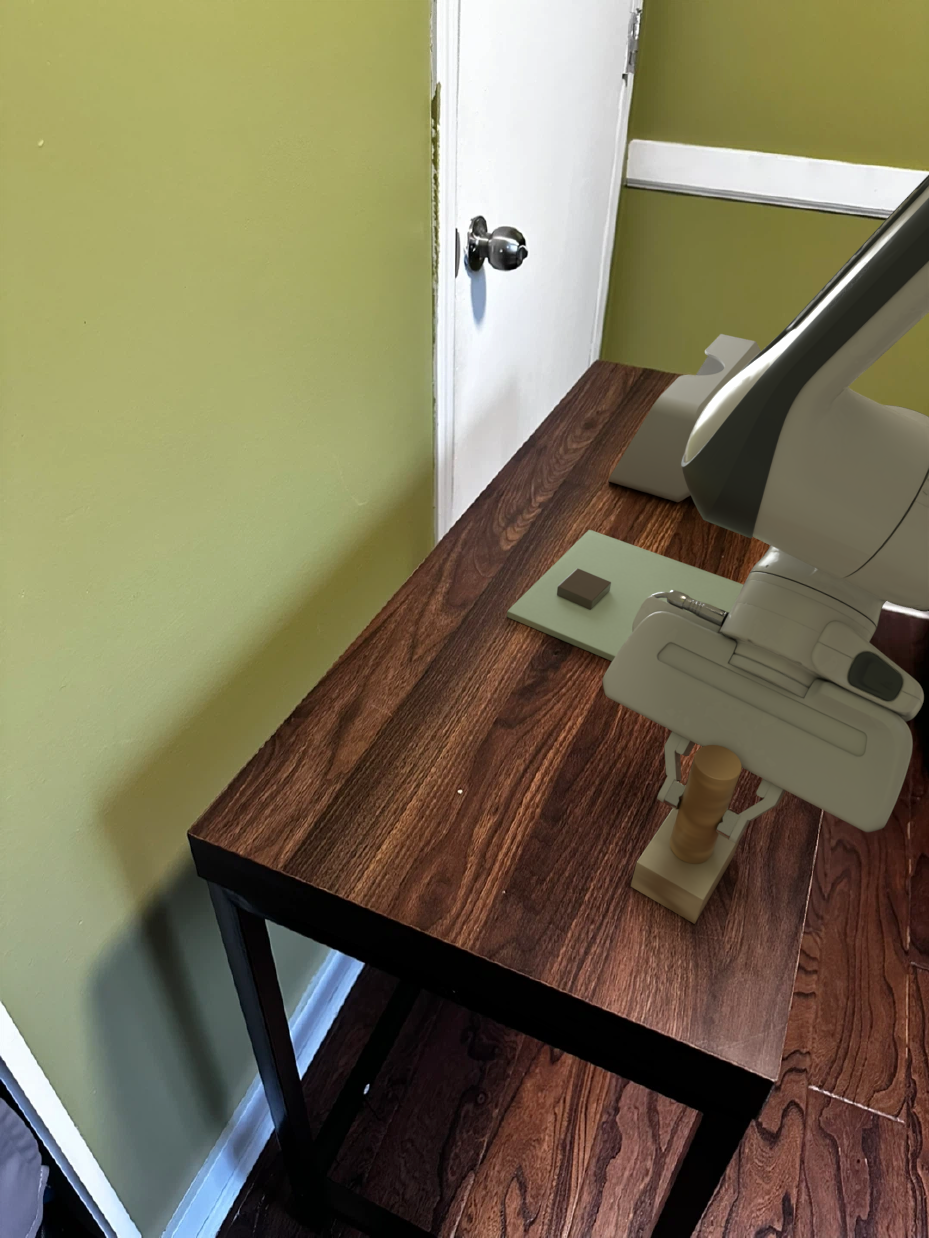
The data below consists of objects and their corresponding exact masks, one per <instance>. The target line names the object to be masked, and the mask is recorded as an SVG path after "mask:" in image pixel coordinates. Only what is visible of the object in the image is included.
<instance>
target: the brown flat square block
mask: <svg viewBox="0 0 929 1238" xmlns="http://www.w3.org/2000/svg"><path fill="white" fill-rule="evenodd" d="M610 586H611V582H610V581H607V580H605V579H602V578H600V577H598V576H595V575H593V574H590V573H588V572H586V571H583V570H581V569H579V568H577V569H576V570H575V571H574V572H573V573H572V574H571V575H569V576H568V577H567V578H566V579H565V580H564V581H563V582H562V583H561V584H560V585H558V588H557V596H560V597H562V598H564V599H566V600H569V601H571V602H573V603H576V604H578V605H580V606H582V607H585V608H587V609H589V610H591V609H592V608H593V607H594V606H595V605H596V604H597V603H598V602H599V601H600V600H601V599H602V598H603V597H604V596H605V595H606V594H607V593H608V592H609V591H610Z"/></svg>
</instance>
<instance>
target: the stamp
mask: <svg viewBox="0 0 929 1238" xmlns="http://www.w3.org/2000/svg"><path fill="white" fill-rule="evenodd" d="M742 769H743V768H742V765H741V762H740V759H739V758H738V757H737V755H736V754H735V753H734V752H732V751H731V750H729V749H727V748H725V747H722V746H719V745H706V746H703V747H702V746H700V748H698V749H696V751H695V753H694V756H693V758H692V763H691V767H690V770H689V773H688V777H687V780H686V783H685V784H686V786H685V790H684V793H683V796H682V800H681V803H680V807H679V810H678V809H677V810H676V809H674V808H672V809H671V810H670V811H669V813H668V815H667V816H666V818H664V821H662V824H661V825H660V826H659V828H658V830H657V831H656V832H655V834H654V836H653V837H652V838H651V840H650V841H649V843H648V844H647V846H646V847H645V849H644V850H643V852H642V854H641V855H640V856H639V858H638V859H637V861H636V864H635V867H634V871H633V876H632V879H631V883H630V887H631V888H632V889H633V890H636V891H638V892H639V893H641V894H643V895H644V896H646V897H648V898H649V899H650V900H653V901H654V902H656V903H658V904H660V905H661V906H662V907H665V908H666V909H668V910H670V911H672V912H673V913H675V914H676V915H678V916H680V917H682V918H684V919H685V920H687V921H689V922H690V923H692V924H694V925H696V923H697V921H698V920H699V918H700V916H701V914H702V913H703V911H704V910H705V907H706V905H707V903H708V902H709V900H710V899H711V896H712V895H713V893H714V891H715V890H716V888H717V886H718V884H719V883H720V881H721V879H722V877H723V876H724V874H725V872H726V870H727V868H728V867H729V865H730V863H731V861H732V860H733V858H734V856H735V853H736V850H737V848H738V846H739V843H740V841H739V842H738V843H736V844H735V843H734V842H732V841H730V840H728V839H727V838H725V837H723V836H721V835H720V834H718V833H716V829H717V827H718V825H719V823H721V822H723V819H722V817H723V815H724V813H725V812H726V810H727V809H729V807H730V805H731V802H732V798H733V795H734V792H735V790H736V787H737V784H738V781H739V778H740V775H741V772H742Z"/></svg>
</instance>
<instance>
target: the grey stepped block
mask: <svg viewBox="0 0 929 1238" xmlns="http://www.w3.org/2000/svg"><path fill="white" fill-rule="evenodd" d="M761 351H762V350H761V348H760V346H759V344H758V343H757V341H756V340H751V339H746V338H743V337H742V338H741V337H737V336H732V335H727V334H723V333H720V334H719V335H718V336H717V337H716V338H715V339H714V340H713V342H711V343H710V344H709V345H708V346H707V348H705V350H704V354H705V355H706V358H705V359H704V361H703V363H702V364H701V366H700V367H699V369H698V371H697V372H696V374H682V375H679V376H678V377H677V378H676V379H675V380H674V381H673V382H671V384H670V385H669V386H668V387H667V388H666V389H665V390H664V391H663V392H662V393H661V394H660V395H659V397H658V398H657V399H656V400H655V402H654V404H653V405H652V406H651V408H650V409H649V411H648V413H647V414H646V416H645V418H644V420H643V421H642V423H641V425H640V426H639V428H638V430H637V431H636V432H635V435H634V436H633V438H632V439H631V441H630V443H629V444H628V446H627V448H626V449H625V450H624V453H623V454H622V456H621V457H620V459H619V460H618V462H617V464H616V466H615V468H614V469H613V471H612V473H611V474H610V476H609V477H608V479H607V482H609V483H612V484H616V485H619V486H622V487H625V488H629V489H631V490H632V489H633V490H636V491H639V492H643V493H646V494H649V495H653V496H655V497H659V498H663V499H665V500H669V501H672V502H675V503H680V502H681V501H683V500H685V499H686V498H688V497H690V496H691V495H690V492H689V489H688V487H687V484H686V481H685V478H684V474H683V471H682V466H681V462H682V459H683V456H684V454H685V450H686V446H687V442H688V439H689V437H690V434H691V432H692V430H693V428H694V425H695V423H696V421H697V420H698V418H699V416H700V415H701V413H702V411H703V410H704V408H705V407H706V406H707V404H708V403H709V401H710V400H711V399H712V398H713V397H714V395H715V394H716V393H717V392H718V391H719V390H720V389H721V388H722V387H723V386H724V385H725V384H726V383H727V382H729V381H730V380H731V379H732V378H733V377H734V376H736V375H737V374H738V373H739V372H740V371H741V370H742V369H743V368H744V367H745V366H746V365H747V364H748V363H749V362H750V361H751V360H752V359H753V358H754V357H755V356H757V355H758V354H759V353H760V352H761Z"/></svg>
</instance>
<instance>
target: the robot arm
mask: <svg viewBox="0 0 929 1238" xmlns="http://www.w3.org/2000/svg"><path fill="white" fill-rule="evenodd" d="M928 314H929V174H928V175H927V176H926V177H925V178H924V179H923V180H922V181H921V182H920V183H919V184H918V185H917V186H916V187H915V188H914V189H913V191H911V192H910V193H909V194H908V195H907V197H906V198H905V199H904V200H903V201H902V202H900V204H899V205H898V206H897V207H896V208H895V209H894V210H893V211H892V213H890V214H889V216H888V217H886V218H885V220H884V221H883V222H882V223H881V224H880V225H879V226H878V228H876V229H875V231H874V232H873V233H872V234H871V235H870V236H869V237H868V238H867V239H866V240H865V242H863V244H862V245H861V246H860V247H859V248H858V249H857V250H856V251H855V252H854V253H853V254H852V255H851V257H850V258H848V260H847V261H846V262H845V263H844V264H843V265H842V266H841V267H840V268H839V270H838V271H837V272H836V273H835V274H834V275H832V277H831V278H830V279H829V281H828V282H827V283H826V284H825V285H824V286H823V287H822V288H821V289H820V290H819V291H818V292H817V293H816V294H815V296H814V297H813V298H812V299H811V300H810V301H808V303H807V305H805V306H804V308H802V310H801V311H800V312H799V313H798V314H797V315H796V316H795V317H794V318H793V319H792V320H791V321H790V322H789V324H788V325H786V327H785V328H784V329H783V330H782V331H781V332H779V334H778V335H777V336H776V337H775V338H774V339H773V340H771V342H769V343H768V344H767V345H766V346H765V347H764V348H763V349H762V350H761V352H760V353H759V354H758V355H757V356H755V357H754V358H753V359H752V360H751V361H750V362H749V363H748V364H747V365H746V366H745V367H744V368H743V369H742V370H741V371H740V372H739V373H738V374H737V375H736V376H734V377H733V378H732V379H731V380H730V381H729V382H727V383H726V384H725V385H724V386H723V387H722V388H721V389H720V390H719V391H718V392H717V393H716V394H715V395H714V397H713V398H712V399H711V400H710V401H709V403H708V404H707V406H706V407H705V408H704V410H703V411H702V413H701V415H700V416H699V418H698V420H697V421H696V423H695V425H694V428H693V430H692V432H691V434H690V437H689V439H688V442H687V446H686V450H685V454H684V456H683V459H682V462H681V466H682V471H683V474H684V478H685V481H686V484H687V487H688V489H689V492H690V496H691V499H692V501H693V503H694V505H695V507H696V509H697V511H698V513H699V514H700V516H701V518H702V520H703V521H705V522H708V523H710V524H713V525H715V526H718V527H720V528H723V529H726V530H728V531H730V532H733V533H736V534H738V535H741V536H743V537H745V538H749V539H752V538H754V539H757V540H759V541H760V542H762V543H764V544H767V545H769V547H768V549H767V551H766V552H765V553H764V554H763V556H762V557H761V558H760V559H759V560H758V561H757V562H756V563H755V564H754V566H752V569H751V570H750V571H749V574H748V576H747V578H746V579H745V581H744V583H743V587H742V589H741V591H740V593H739V595H738V597H737V599H736V601H735V603H734V604H733V606H732V608H731V610H730V612H726V611H724V610H722V609H719V608H717V607H714V606H712V605H710V604H707V603H703V602H700V601H697V600H694V599H692V598H690V597H689V596H688V595H686V594H684V593H682V592H679V591H676V590H671V591H670V592H669V593H667V592H659V593H655V594H653V595H651V596H649V597H648V598H647V599H646V600H645V601H644V602H643V603H642V605H641V607H640V609H639V611H638V613H637V615H636V617H635V619H634V622H633V626H632V630H633V632H632V634H631V635H630V636H629V637H628V639H627V640H626V642H625V643H624V644H623V646H622V647H621V649H620V650H619V652H618V653H617V655H616V656H615V658H614V659H613V661H611V662H610V664H609V666H608V667H607V668H606V669H607V670H606V671H605V673H604V675H603V677H602V688H603V693H604V695H605V697H606V698H608V699H610V700H612V701H614V702H615V703H618V704H619V705H621V706H623V707H625V708H627V709H629V710H630V711H633V712H635V713H637V714H638V715H640V716H642V717H644V718H646V719H647V720H649V721H652V722H654V723H655V724H658V725H660V726H662V727H663V728H665V729H667V730H669V731H671V732H670V733H669V737H667V740H666V742H665V744H664V761H665V775H666V778H665V780H664V782H663V784H662V786H661V788H660V790H659V792H658V794H657V797H656V800H658V801H660V802H661V803H663V804H665V805H666V806H669V807H670V808H672V809H673V808H674V809H676V810H677V809H678V810H679V807H680V803H681V800H682V796H683V793H684V790H685V786H686V783H685V782H683V781H682V765H681V764H682V763H681V756H684V757H689V756H690V755H691V753H692V751H693V749H694V747H695V745H698V746H700V747H703V746H706V745H719V746H722V747H725V748H727V749H729V750H731V751H732V752H734V753H735V754H736V755H737V757H738V758H739V759H740V762H741V765H742V769H744V770H746V771H747V772H750V773H751V774H754V775H756V776H757V777H758V778H759V777H760V778H761V779H762V780H761V781H760V784H759V786H758V787H757V790H756V792H755V794H756V796H758V797H759V798H762V799H761V800H760V801H758V802H756V803H755V804H753V805H751V806H750V807H748V808H747V809H745V810H743V811H742V812H740V813H739V812H737V811H736V810H734V809H732V808H728V809H727V810H726V812H725V813H724V815H723V817H722V819H723V822H721V823H719V825H718V827H717V829H716V833H718V834H720V835H721V836H723V837H725V838H727V839H728V840H730V841H732V842H734V843H735V844H736V843H738V842H739V843H740V841H741V839H742V838H743V835H744V833H745V831H746V830H747V828H748V826H749V824H750V822H752V821H754V820H756V819H757V818H759V817H761V816H763V815H764V814H766V813H767V812H770V811H771V810H773V809H774V808H776V807H778V806H779V804H780V802H781V800H782V799H783V797H784V795H785V793H786V792H788V793H789V794H792V796H793V795H794V796H796V797H797V798H798V799H799V798H800V799H801V800H803V801H805V802H807V803H809V804H810V805H813V806H814V807H817V808H818V809H820V810H822V811H824V812H826V813H828V814H830V815H832V816H834V817H835V818H837V819H839V820H841V821H844V822H845V823H847V824H849V825H851V826H852V827H855V828H857V829H859V830H861V831H862V832H864V833H871V832H872V833H873V832H876V831H880V830H882V829H884V828H885V827H886V825H887V823H888V821H889V819H890V816H891V815H892V812H893V810H894V808H895V805H896V804H897V801H898V798H899V795H900V793H901V791H902V787H903V785H904V782H905V779H906V775H907V772H908V769H909V766H910V762H911V758H912V754H913V746H914V745H913V743H914V742H913V735H912V731H911V729H910V727H909V725H908V724H907V722H909V721H911V720H913V719H914V718H915V717H916V716H917V715H918V713H919V711H920V710H921V709H922V706H923V703H924V700H925V694H924V690H923V688H922V686H921V684H920V683H919V682H918V681H917V680H916V679H915V678H914V677H913V676H912V675H910V674H909V673H908V672H907V671H905V670H904V669H903V668H901V666H899V665H898V664H897V663H895V662H894V661H893V660H892V659H891V658H889V657H888V656H886V654H884V653H883V652H881V650H880V649H878V648H877V647H876V646H874V645H873V644H872V643H871V640H872V638H873V636H874V634H875V632H876V630H877V628H878V626H879V620H880V616H881V612H882V610H883V607H884V605H885V603H887V602H888V603H890V604H891V605H896V606H898V607H901V608H907V609H912V610H914V611H918V612H923V613H929V415H926V414H924V413H922V412H920V411H918V410H914V409H911V408H908V407H905V406H899V405H893V404H882V403H879V401H875V400H874V399H872V398H869V397H867V396H865V395H863V394H862V393H861V394H860V393H859V392H857V391H855V390H854V389H852V388H851V387H850V386H851V385H852V384H853V383H854V382H855V381H856V380H857V379H858V378H860V376H862V375H863V374H864V373H865V372H866V371H867V370H868V369H869V368H870V367H871V366H873V364H874V363H876V362H877V361H878V360H879V359H880V358H881V357H882V356H883V355H884V354H886V353H887V351H889V350H890V349H891V348H892V347H893V346H894V345H895V344H896V343H897V342H899V341H900V339H902V338H903V337H904V336H906V334H907V333H908V332H909V331H911V329H912V328H913V327H915V326H916V325H917V324H918V323H919V322H920V321H921V320H922V319H923V318H924V317H925V316H927V315H928ZM658 598H667V602H668V603H667V602H665V601H662V600H660V599H658ZM683 609H684V610H683ZM685 610H686V611H685ZM687 611H689V612H691V613H693V614H691V613H689V612H687ZM694 614H695V615H694ZM721 627H722V628H721ZM739 843H738V844H739Z"/></svg>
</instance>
